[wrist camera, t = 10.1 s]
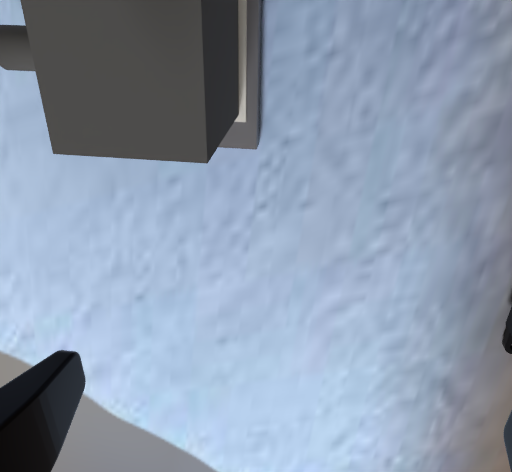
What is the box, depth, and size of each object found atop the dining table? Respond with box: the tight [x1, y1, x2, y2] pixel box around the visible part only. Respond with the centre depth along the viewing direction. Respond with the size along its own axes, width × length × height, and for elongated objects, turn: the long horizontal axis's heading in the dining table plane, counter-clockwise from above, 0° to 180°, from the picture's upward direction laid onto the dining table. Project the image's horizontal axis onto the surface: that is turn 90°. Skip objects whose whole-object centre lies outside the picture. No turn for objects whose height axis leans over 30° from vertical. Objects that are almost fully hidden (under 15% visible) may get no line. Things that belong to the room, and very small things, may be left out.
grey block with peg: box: [0, 0, 239, 163], centre depth 16 cm, size 9×5×6 cm, turn 89°
